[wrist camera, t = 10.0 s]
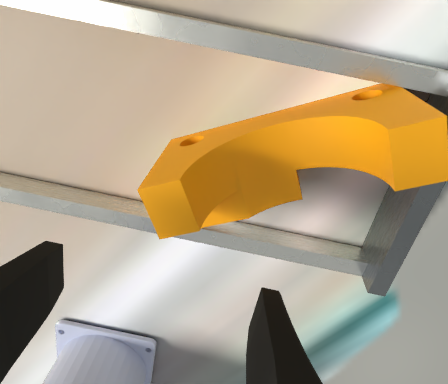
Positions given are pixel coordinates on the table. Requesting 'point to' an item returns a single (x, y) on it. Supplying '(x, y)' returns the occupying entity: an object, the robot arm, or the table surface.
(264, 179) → the pipe clamp
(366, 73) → the rail
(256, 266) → the table surface
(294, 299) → the table surface
